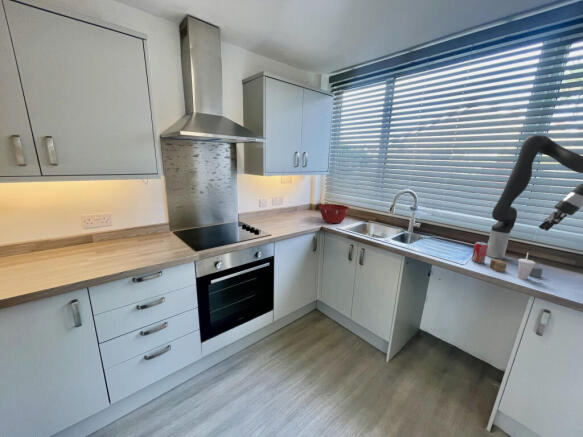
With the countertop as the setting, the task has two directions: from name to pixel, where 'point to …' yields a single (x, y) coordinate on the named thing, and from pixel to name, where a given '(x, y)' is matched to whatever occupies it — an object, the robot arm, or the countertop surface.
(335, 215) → the mixing bowl
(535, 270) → the charcoal block
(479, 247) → the soda can
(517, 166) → the robot arm
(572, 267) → the countertop surface
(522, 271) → the smoothie
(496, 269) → the walnut block
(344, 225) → the countertop surface
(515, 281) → the countertop surface
